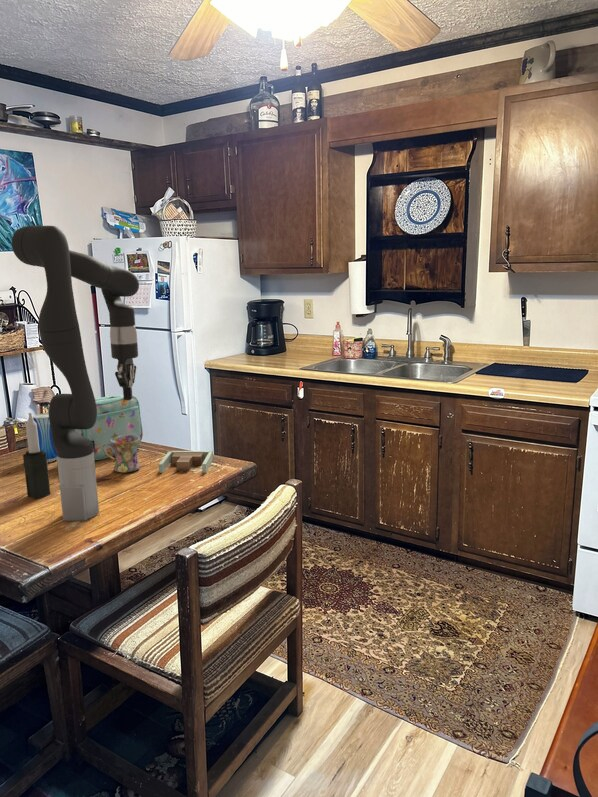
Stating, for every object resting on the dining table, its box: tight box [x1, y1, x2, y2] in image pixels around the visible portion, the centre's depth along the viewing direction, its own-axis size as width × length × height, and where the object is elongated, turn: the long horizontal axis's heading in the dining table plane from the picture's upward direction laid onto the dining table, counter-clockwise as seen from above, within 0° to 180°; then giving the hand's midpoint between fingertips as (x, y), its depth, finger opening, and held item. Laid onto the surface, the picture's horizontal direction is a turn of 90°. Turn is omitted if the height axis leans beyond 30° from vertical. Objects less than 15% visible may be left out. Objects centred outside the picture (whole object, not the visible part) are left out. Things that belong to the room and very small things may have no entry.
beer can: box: [32, 412, 57, 463], centre depth 204 cm, size 8×8×16 cm
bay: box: [158, 450, 214, 474], centre depth 198 cm, size 14×15×3 cm
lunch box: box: [75, 394, 144, 461], centre depth 210 cm, size 27×10×21 cm, turn 147°
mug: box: [102, 435, 141, 474], centre depth 193 cm, size 12×9×11 cm
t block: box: [171, 453, 204, 472], centre depth 198 cm, size 10×10×3 cm
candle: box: [22, 412, 51, 500], centre depth 171 cm, size 5×5×25 cm
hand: (128, 399), depth 175 cm, fingers closed
